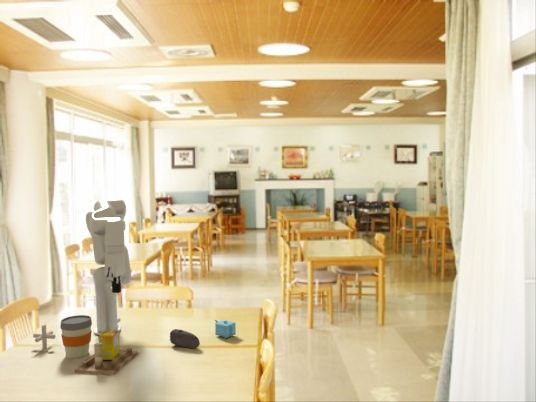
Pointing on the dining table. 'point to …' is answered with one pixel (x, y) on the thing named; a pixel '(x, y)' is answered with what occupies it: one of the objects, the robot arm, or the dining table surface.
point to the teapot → (225, 328)
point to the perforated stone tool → (184, 339)
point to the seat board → (105, 362)
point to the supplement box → (109, 344)
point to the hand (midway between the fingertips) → (116, 292)
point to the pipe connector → (44, 336)
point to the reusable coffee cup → (76, 335)
